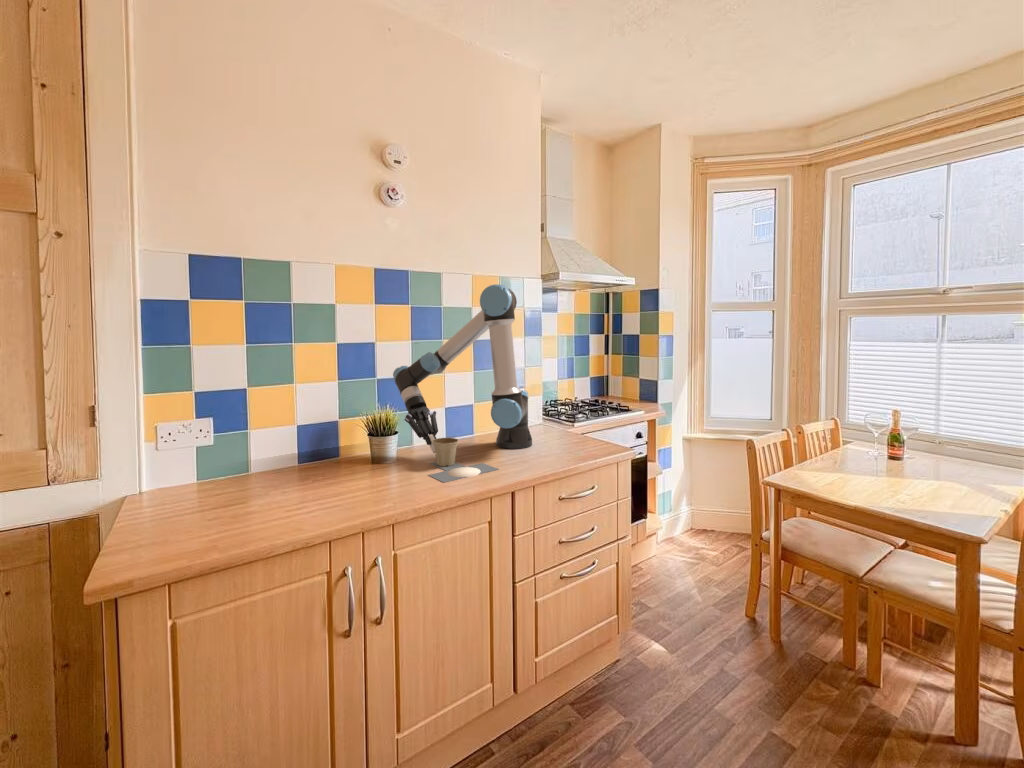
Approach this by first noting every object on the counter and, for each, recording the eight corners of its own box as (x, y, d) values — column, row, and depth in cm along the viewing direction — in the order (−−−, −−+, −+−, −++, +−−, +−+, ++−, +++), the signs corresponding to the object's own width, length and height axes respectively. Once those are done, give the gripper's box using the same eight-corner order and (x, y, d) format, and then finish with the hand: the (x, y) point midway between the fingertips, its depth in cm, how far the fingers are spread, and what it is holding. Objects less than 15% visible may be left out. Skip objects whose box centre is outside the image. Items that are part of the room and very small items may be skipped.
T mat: (411, 467, 163) (411, 466, 163) (464, 456, 176) (464, 455, 176) (444, 483, 145) (444, 482, 145) (500, 470, 159) (500, 469, 159)
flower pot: (461, 460, 170) (461, 437, 169) (456, 468, 161) (455, 444, 160) (436, 460, 171) (436, 437, 170) (429, 467, 161) (428, 443, 160)
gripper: (425, 404, 187) (447, 453, 176) (395, 408, 179) (416, 459, 168) (431, 393, 182) (454, 442, 171) (401, 396, 174) (423, 448, 163)
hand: (436, 450), depth 169 cm, fingers closed
